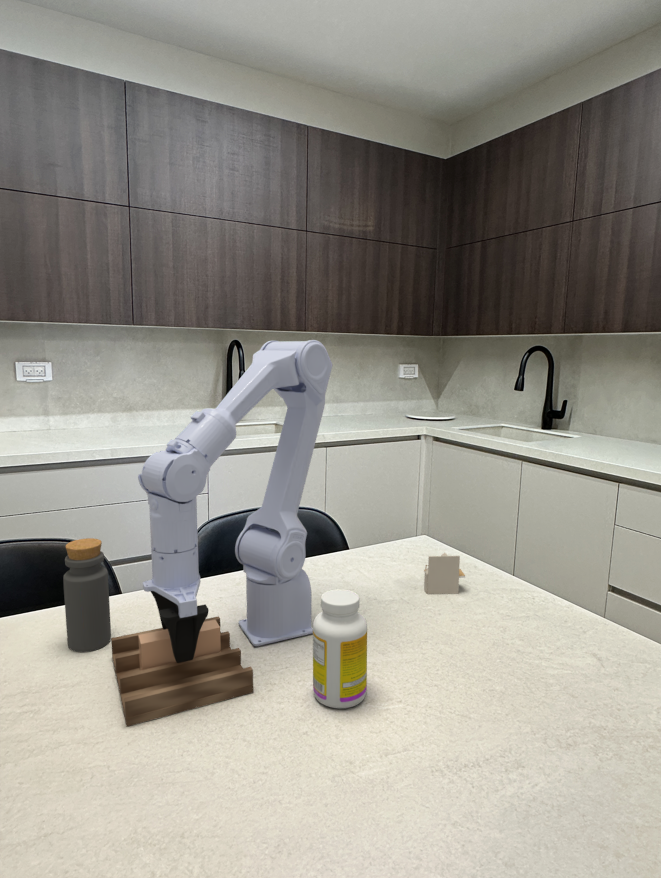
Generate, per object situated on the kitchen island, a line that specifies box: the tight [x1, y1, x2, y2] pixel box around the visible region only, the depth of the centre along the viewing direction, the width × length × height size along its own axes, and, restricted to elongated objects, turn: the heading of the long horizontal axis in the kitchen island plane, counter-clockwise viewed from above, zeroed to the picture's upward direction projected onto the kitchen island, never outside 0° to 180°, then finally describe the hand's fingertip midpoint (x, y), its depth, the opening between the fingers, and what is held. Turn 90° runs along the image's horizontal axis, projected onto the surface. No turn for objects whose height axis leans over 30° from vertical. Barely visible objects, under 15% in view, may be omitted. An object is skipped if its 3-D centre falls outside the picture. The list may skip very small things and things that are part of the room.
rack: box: [110, 615, 254, 727], centre depth 73 cm, size 15×16×3 cm
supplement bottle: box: [312, 588, 368, 709], centre depth 69 cm, size 7×7×13 cm
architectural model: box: [423, 552, 466, 595], centre depth 100 cm, size 3×7×7 cm, turn 93°
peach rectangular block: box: [138, 620, 221, 671], centre depth 73 cm, size 10×2×5 cm, turn 116°
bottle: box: [62, 537, 112, 653], centre depth 80 cm, size 6×6×15 cm
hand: (178, 645), depth 73 cm, fingers open, 7 cm apart
